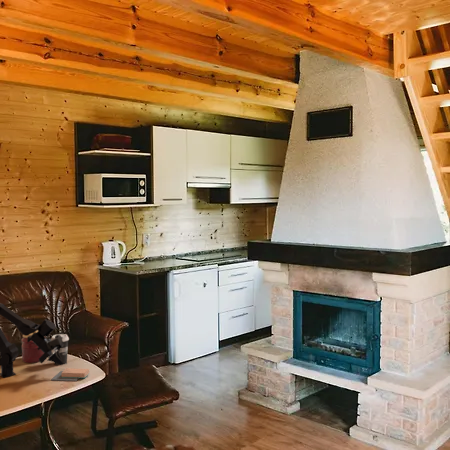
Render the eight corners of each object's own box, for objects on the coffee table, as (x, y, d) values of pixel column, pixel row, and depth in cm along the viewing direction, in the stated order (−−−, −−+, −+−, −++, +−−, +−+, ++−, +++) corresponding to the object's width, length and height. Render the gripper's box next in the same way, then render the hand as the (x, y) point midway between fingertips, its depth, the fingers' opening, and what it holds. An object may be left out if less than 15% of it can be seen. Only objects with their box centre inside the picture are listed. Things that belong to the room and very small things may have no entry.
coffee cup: (56, 367, 287) (55, 339, 286) (48, 362, 294) (47, 336, 293) (72, 363, 293) (71, 336, 292) (65, 358, 300) (64, 332, 299)
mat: (51, 380, 268) (51, 379, 268) (60, 371, 280) (60, 370, 279) (76, 381, 266) (76, 380, 266) (85, 372, 278) (84, 371, 278)
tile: (61, 372, 270) (84, 373, 268) (66, 368, 276) (89, 368, 275) (61, 377, 270) (84, 378, 269) (66, 373, 276) (89, 373, 275)
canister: (50, 359, 300) (49, 328, 298) (27, 365, 291) (26, 333, 289) (40, 354, 309) (39, 323, 308) (18, 359, 301) (17, 328, 299)
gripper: (44, 336, 262) (66, 359, 262) (59, 326, 281) (80, 347, 281) (29, 352, 264) (51, 374, 264) (45, 340, 282) (66, 362, 282)
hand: (63, 364), depth 273 cm, fingers closed
